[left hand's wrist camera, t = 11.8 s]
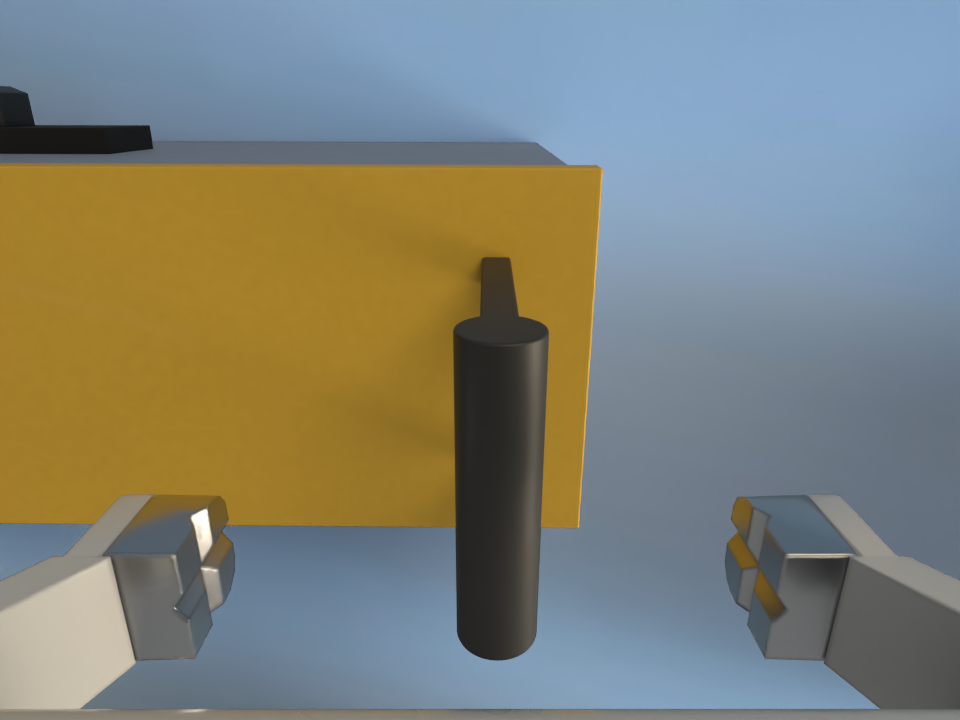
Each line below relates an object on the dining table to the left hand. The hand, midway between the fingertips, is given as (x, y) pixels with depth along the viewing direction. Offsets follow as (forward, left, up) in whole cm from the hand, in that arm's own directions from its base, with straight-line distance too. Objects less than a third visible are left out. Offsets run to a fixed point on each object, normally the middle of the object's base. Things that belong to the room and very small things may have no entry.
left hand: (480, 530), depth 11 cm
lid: (+3, -5, -8) cm, 10 cm away
